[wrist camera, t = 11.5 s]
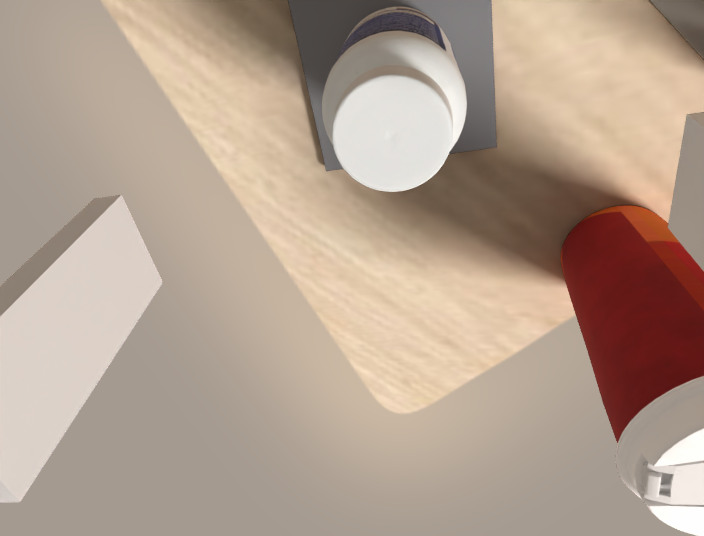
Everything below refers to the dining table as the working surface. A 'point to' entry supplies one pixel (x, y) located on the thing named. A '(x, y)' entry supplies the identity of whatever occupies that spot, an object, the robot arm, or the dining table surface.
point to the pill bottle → (394, 100)
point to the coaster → (453, 18)
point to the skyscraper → (685, 19)
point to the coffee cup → (645, 352)
